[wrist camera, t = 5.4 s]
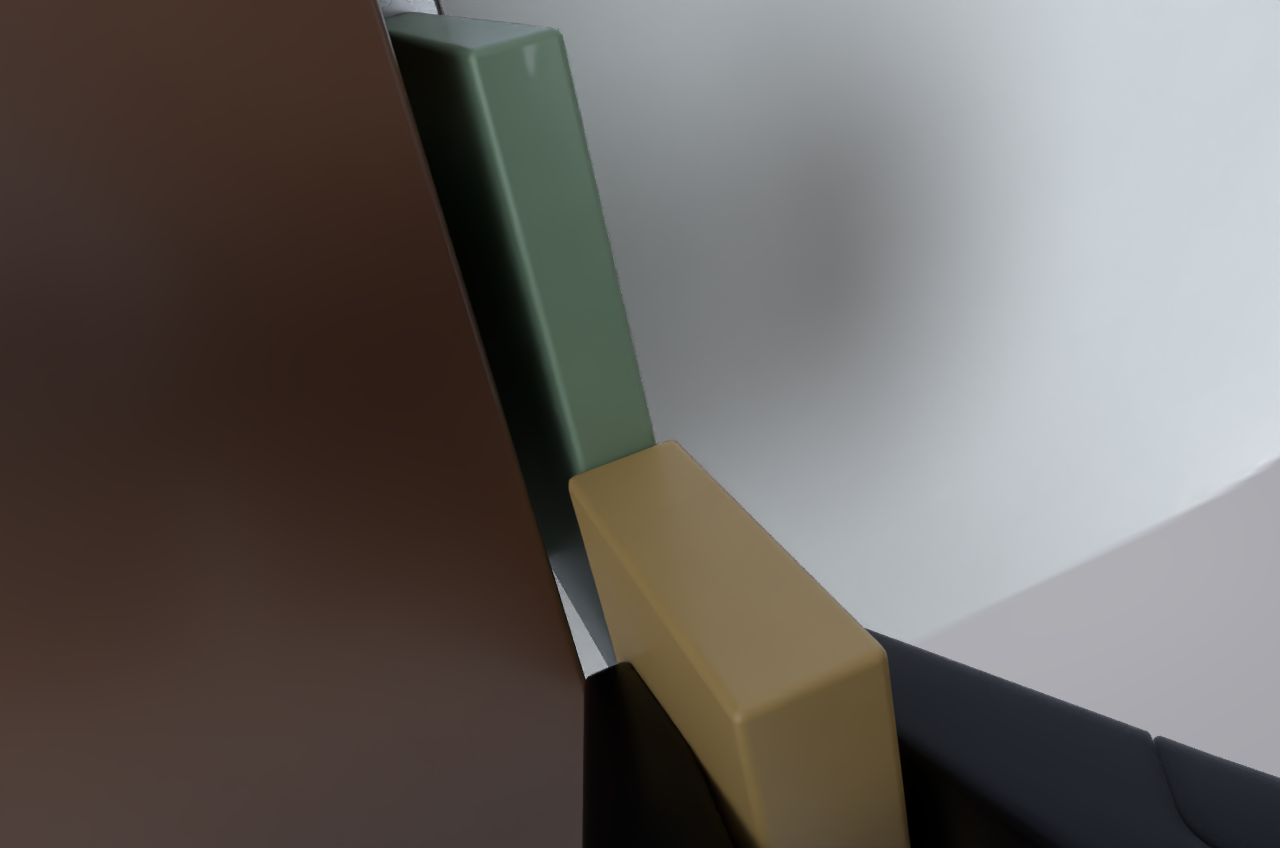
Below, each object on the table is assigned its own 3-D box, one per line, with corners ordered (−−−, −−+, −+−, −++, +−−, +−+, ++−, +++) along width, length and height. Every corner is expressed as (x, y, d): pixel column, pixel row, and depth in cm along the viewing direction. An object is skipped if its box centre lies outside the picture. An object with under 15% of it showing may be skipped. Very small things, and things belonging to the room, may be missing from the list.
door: (570, 508, 16) (940, 1057, 8) (509, 531, 15) (822, 1124, 7) (428, 6, 12) (820, 38, 4) (346, 27, 12) (596, 103, 4)
